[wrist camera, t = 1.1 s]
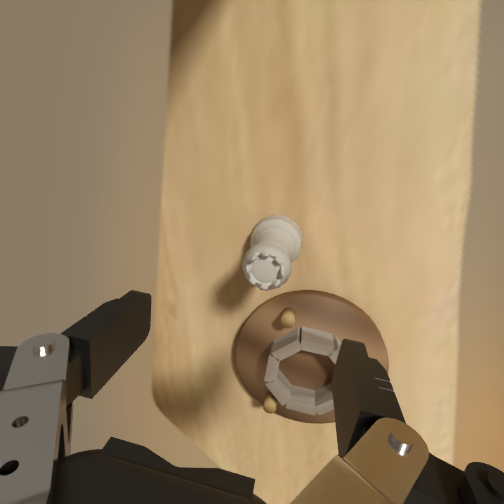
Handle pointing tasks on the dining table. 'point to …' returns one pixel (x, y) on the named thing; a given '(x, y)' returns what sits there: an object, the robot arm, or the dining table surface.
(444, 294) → the dining table surface
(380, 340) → the carrier disc
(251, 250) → the rook chess piece
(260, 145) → the dining table surface
